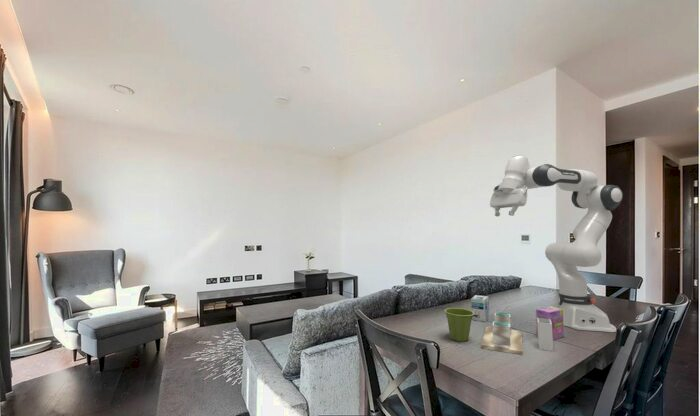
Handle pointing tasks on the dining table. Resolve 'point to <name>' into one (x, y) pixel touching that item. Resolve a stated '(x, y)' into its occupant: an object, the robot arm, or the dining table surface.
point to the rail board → (513, 342)
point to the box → (552, 320)
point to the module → (545, 334)
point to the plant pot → (459, 323)
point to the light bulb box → (480, 308)
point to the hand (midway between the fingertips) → (503, 215)
